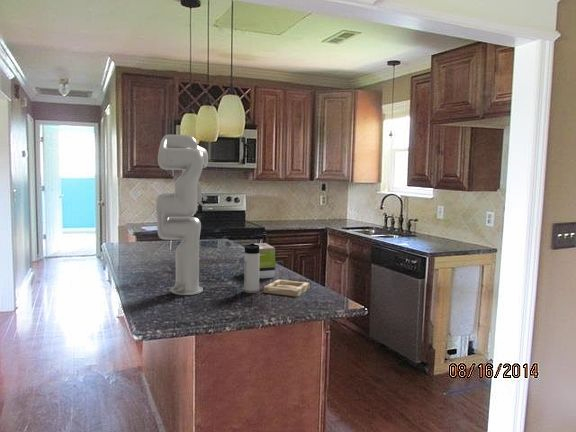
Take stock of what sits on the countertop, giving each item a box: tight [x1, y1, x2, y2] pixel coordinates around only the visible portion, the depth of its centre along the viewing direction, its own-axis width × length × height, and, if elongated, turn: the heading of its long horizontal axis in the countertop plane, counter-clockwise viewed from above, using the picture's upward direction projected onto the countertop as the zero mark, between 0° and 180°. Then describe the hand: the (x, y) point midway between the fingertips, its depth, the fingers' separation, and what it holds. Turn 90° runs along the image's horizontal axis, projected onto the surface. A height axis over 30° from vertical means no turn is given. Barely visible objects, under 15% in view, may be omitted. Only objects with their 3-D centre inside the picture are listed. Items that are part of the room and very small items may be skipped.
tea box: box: [255, 242, 276, 280], centre depth 231 cm, size 15×10×15 cm, turn 21°
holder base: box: [263, 278, 311, 297], centre depth 202 cm, size 15×15×2 cm
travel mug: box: [243, 243, 260, 294], centre depth 199 cm, size 6×7×20 cm
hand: (190, 214), depth 230 cm, fingers open, 9 cm apart
